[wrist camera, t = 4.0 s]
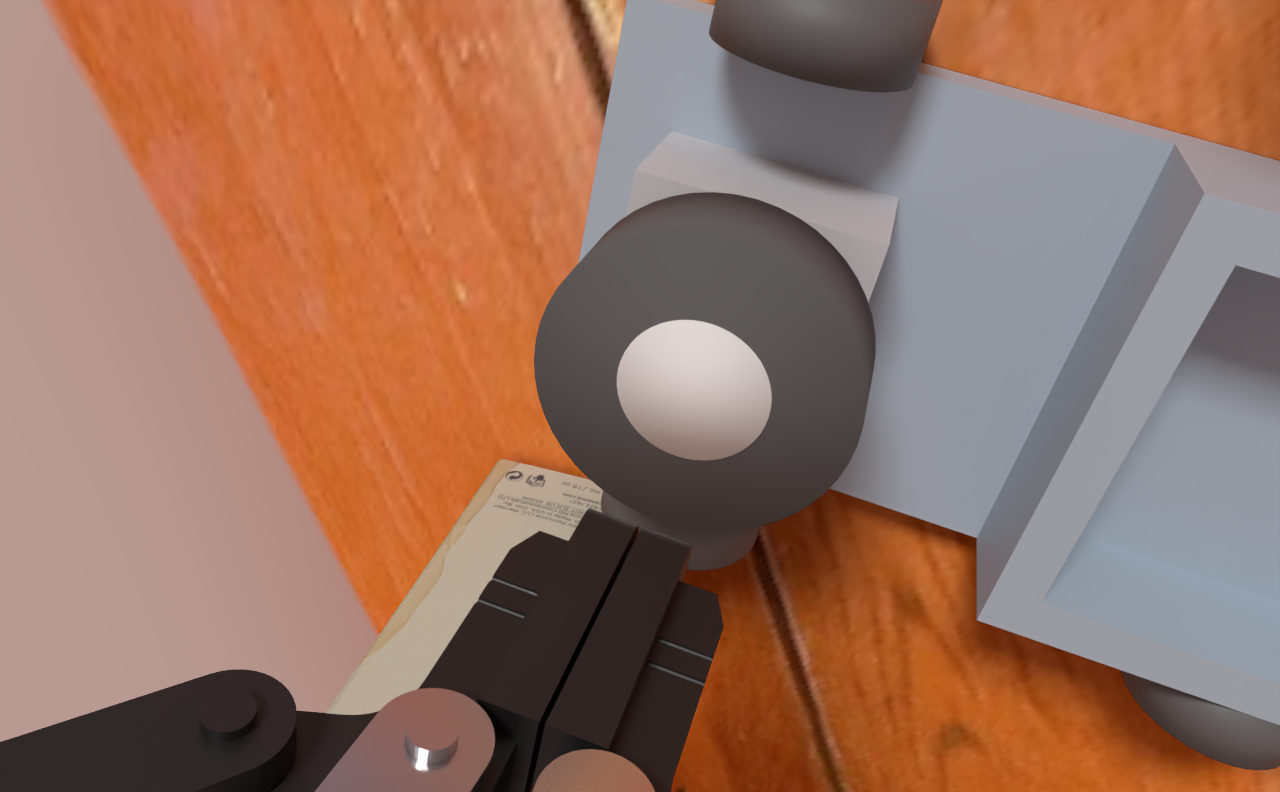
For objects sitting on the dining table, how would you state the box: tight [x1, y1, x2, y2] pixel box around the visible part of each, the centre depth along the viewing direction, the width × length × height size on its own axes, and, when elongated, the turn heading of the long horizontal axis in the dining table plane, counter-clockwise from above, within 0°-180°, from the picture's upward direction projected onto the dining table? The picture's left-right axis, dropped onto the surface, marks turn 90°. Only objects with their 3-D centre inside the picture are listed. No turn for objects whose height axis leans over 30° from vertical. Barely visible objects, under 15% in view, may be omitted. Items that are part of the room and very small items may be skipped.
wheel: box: [534, 192, 876, 531], centre depth 19 cm, size 6×6×2 cm
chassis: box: [578, 0, 1280, 770], centre depth 21 cm, size 20×13×4 cm, turn 78°
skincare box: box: [326, 459, 603, 715], centre depth 25 cm, size 6×4×12 cm
